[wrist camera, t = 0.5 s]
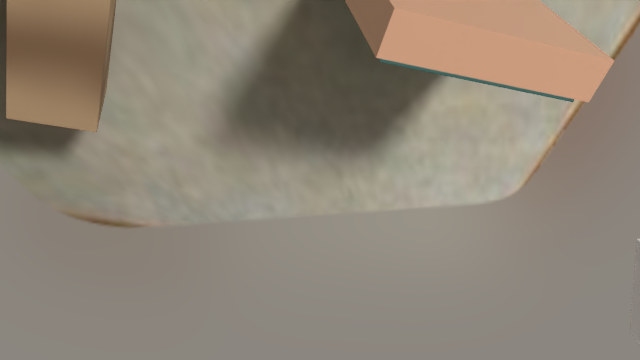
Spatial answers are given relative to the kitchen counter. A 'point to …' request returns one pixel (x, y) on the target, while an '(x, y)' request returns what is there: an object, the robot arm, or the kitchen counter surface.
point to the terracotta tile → (485, 43)
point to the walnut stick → (58, 61)
